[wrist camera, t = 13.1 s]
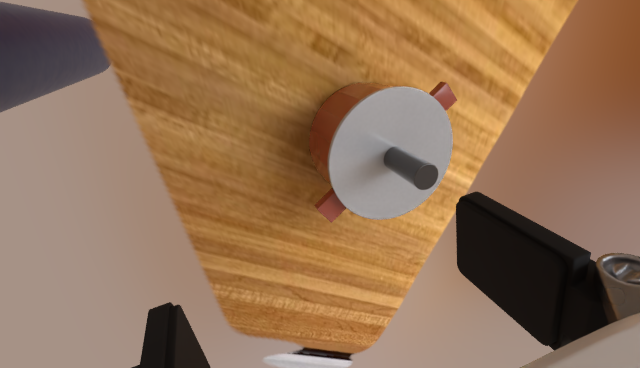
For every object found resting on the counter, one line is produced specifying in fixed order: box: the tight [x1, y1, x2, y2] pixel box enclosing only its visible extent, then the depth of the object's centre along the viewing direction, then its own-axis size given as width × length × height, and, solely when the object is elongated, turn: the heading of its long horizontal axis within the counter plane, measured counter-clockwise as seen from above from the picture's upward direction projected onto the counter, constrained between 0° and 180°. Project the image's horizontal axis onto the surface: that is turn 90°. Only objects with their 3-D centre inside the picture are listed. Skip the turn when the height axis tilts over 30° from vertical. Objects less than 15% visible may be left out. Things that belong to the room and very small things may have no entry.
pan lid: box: [328, 86, 453, 220], centre depth 33 cm, size 14×14×7 cm
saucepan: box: [309, 82, 457, 222], centre depth 38 cm, size 13×18×7 cm
